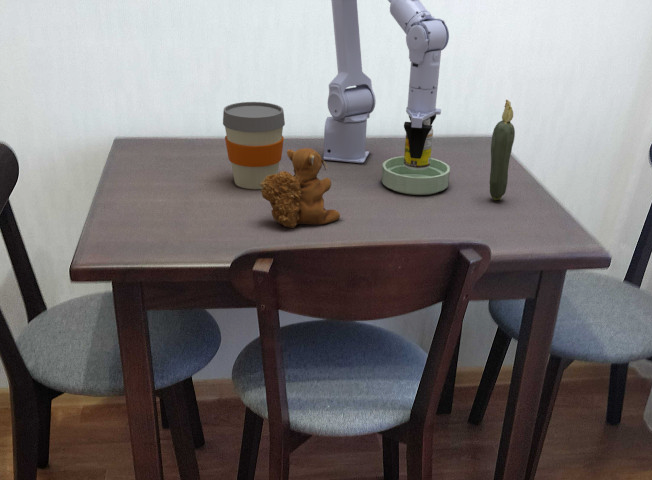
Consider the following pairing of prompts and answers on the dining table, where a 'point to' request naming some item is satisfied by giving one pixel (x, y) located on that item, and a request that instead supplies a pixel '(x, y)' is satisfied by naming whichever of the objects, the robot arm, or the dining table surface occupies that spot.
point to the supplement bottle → (426, 155)
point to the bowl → (415, 177)
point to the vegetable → (501, 153)
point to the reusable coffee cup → (253, 141)
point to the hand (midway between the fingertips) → (417, 153)
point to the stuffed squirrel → (299, 191)
